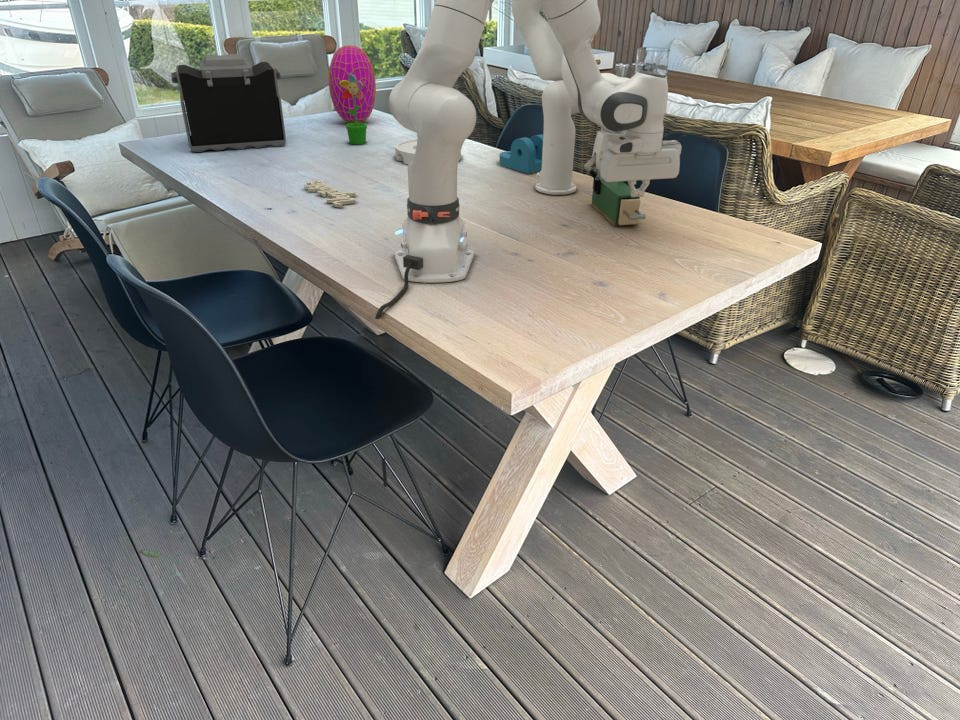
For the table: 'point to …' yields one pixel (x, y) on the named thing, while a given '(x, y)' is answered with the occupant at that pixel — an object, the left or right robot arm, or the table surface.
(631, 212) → the drawer
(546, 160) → the right robot arm
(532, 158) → the camera mount
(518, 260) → the table surface
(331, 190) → the decorative sign
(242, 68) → the electronic device
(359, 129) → the potted flower
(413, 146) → the ashtray
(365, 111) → the decorative egg
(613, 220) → the cabinet
